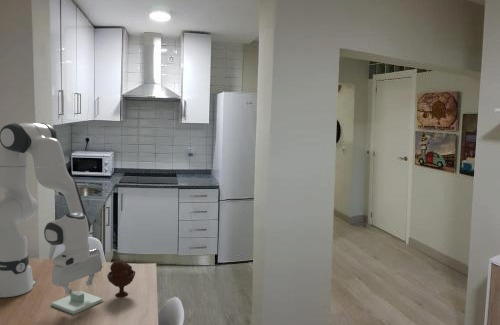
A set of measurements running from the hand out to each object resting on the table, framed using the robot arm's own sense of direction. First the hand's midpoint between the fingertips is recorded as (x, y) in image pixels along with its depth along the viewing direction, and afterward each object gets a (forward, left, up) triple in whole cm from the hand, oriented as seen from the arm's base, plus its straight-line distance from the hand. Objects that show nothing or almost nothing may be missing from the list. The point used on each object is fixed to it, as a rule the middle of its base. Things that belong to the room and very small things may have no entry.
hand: (79, 289), depth 161 cm
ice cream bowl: (+7, +15, -6) cm, 18 cm away
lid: (-1, 0, -6) cm, 6 cm away
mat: (-1, 0, -6) cm, 6 cm away
